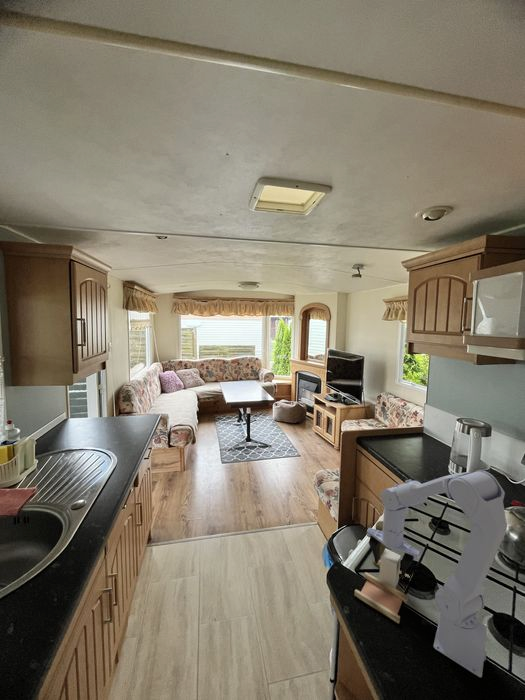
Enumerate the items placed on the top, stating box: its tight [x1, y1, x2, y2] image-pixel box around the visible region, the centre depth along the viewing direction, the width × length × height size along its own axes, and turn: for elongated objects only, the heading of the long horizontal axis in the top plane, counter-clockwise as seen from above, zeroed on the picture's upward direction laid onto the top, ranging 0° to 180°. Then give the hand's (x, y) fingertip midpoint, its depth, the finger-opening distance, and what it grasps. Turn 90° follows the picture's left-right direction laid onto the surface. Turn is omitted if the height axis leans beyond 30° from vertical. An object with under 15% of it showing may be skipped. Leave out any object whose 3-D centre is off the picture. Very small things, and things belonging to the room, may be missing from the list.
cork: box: [372, 520, 392, 560], centre depth 100 cm, size 6×6×11 cm
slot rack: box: [353, 557, 411, 625], centre depth 87 cm, size 12×16×2 cm
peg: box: [378, 548, 402, 589], centre depth 90 cm, size 4×4×8 cm
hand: (389, 568), depth 90 cm, fingers open, 7 cm apart
